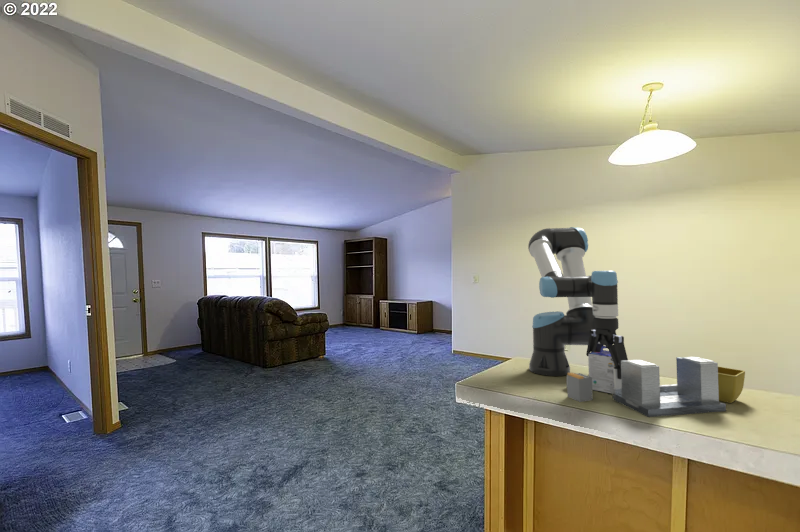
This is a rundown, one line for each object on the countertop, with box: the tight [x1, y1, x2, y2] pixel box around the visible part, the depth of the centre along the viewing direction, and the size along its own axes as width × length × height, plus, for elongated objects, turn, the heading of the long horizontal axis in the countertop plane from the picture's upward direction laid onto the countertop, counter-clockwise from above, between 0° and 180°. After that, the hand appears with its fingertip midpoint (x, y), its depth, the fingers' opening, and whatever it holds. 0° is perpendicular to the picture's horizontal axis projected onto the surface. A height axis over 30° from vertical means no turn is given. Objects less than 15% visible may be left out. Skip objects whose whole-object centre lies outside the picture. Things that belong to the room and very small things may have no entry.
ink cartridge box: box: [587, 345, 615, 395], centre depth 124 cm, size 10×6×14 cm, turn 45°
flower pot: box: [718, 366, 746, 404], centre depth 114 cm, size 9×9×9 cm
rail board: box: [612, 356, 727, 418], centre depth 110 cm, size 14×24×13 cm, turn 97°
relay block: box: [566, 371, 594, 403], centre depth 117 cm, size 5×5×8 cm
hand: (607, 383), depth 124 cm, fingers closed on ink cartridge box, 10 cm apart
